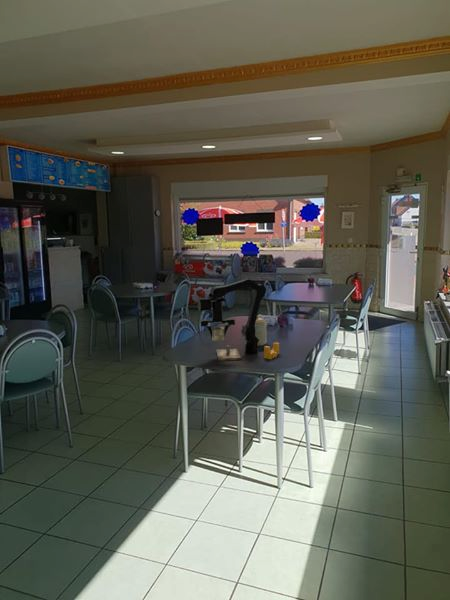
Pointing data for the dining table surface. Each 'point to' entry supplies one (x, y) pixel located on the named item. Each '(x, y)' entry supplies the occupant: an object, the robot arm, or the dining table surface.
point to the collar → (217, 333)
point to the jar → (260, 331)
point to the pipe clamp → (271, 351)
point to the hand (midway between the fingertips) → (218, 337)
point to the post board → (228, 354)
